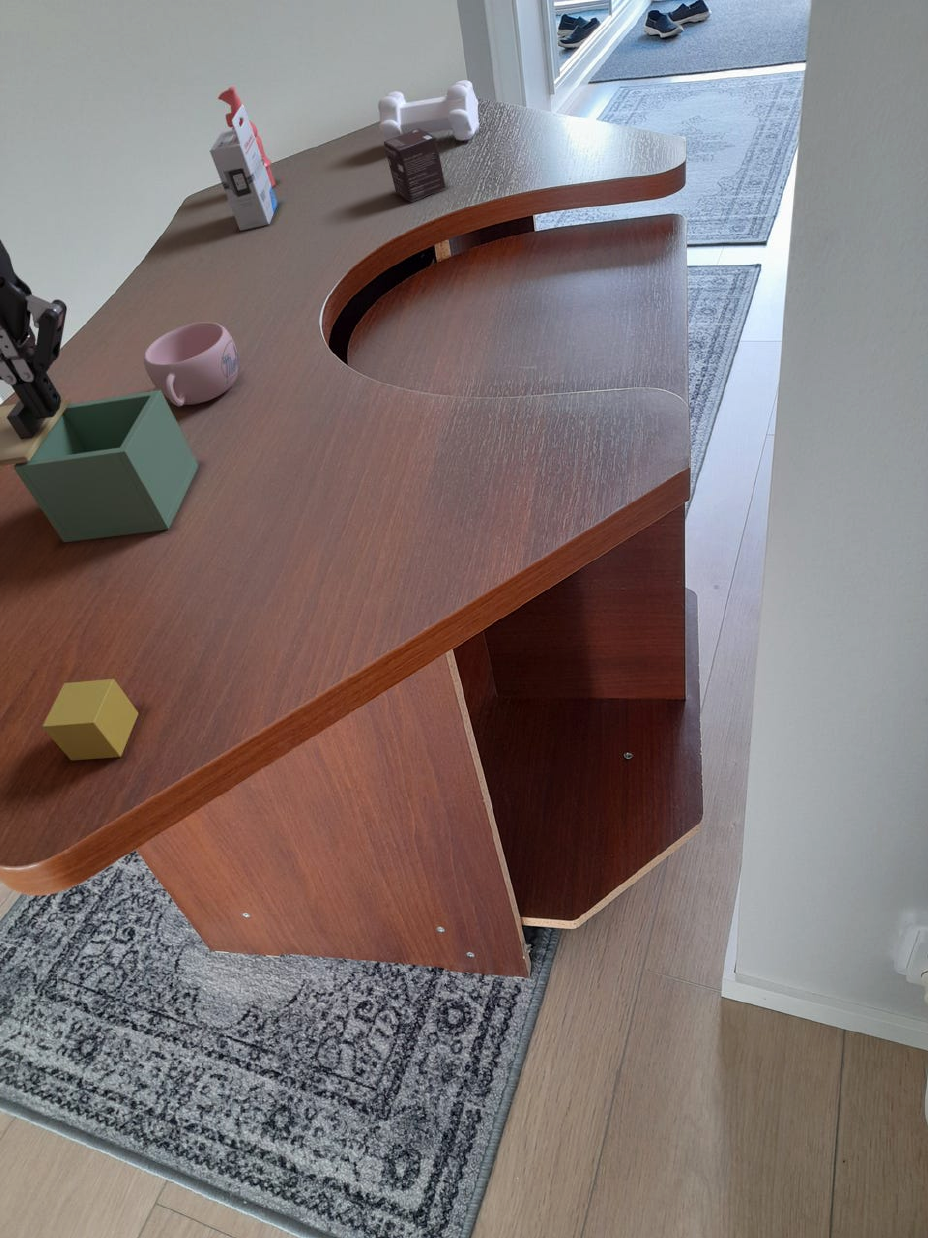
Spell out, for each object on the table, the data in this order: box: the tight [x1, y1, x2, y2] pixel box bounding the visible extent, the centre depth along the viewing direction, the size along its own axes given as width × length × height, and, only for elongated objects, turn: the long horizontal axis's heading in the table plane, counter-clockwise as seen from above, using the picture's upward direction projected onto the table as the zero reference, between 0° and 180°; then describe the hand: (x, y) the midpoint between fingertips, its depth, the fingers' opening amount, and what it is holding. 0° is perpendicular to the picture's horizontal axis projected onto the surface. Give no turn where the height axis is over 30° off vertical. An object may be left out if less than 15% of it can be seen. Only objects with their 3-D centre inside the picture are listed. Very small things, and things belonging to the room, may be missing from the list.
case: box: [13, 389, 199, 543], centre depth 85 cm, size 10×11×9 cm
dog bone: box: [377, 79, 480, 141], centre depth 145 cm, size 15×9×8 cm, turn 76°
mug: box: [143, 321, 239, 407], centre depth 99 cm, size 12×10×6 cm
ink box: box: [209, 103, 278, 231], centre depth 134 cm, size 9×5×15 cm, turn 179°
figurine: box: [217, 86, 276, 188], centre depth 145 cm, size 5×5×15 cm
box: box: [383, 129, 447, 203], centre depth 130 cm, size 6×6×7 cm
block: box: [42, 678, 139, 761], centre depth 65 cm, size 4×4×4 cm
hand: (49, 413), depth 81 cm, fingers closed
